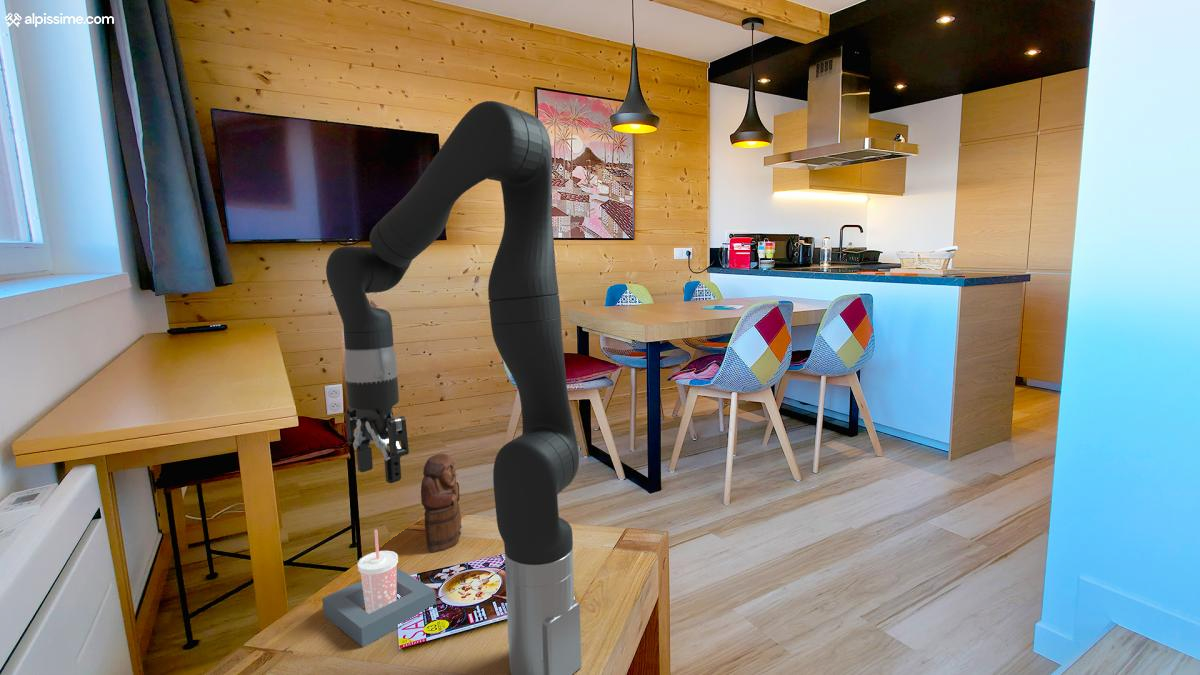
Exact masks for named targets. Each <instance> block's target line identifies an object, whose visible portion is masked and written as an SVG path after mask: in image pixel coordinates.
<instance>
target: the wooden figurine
mask: <svg viewBox="0 0 1200 675" xmlns="http://www.w3.org/2000/svg"><path fill="white" fill-rule="evenodd" d="M422 475H423V478H422V481H421V486H420V500H421V501H420V502H421V504H422V506H423V509H424V514H423V515H424V531H425V532H424V533H425V539H426V549H427V551H429V552H430V553H437V552H440V551H445V550H448V549H450V548H451V549H452V547H455V546H456V545H457V544H458V543H459V542H460V537H461V535H462V531H461V529H462V528H463V527H462V516H461V508H460V503H459V501H460V485H459V482H458V481H457V477H456V476H457V474H456V467H455V461H454V458H453V457H452V456H451V455H449V454H446V453H437V454H434V455H431V456H430V457H429V458H428V459H427V460H426V461H425V463H424V466H423V473H422Z"/></svg>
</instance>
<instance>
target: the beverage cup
mask: <svg viewBox="0 0 1200 675" xmlns="http://www.w3.org/2000/svg"><path fill="white" fill-rule="evenodd" d="M373 532H374V542H375V543H374V544H375V551H374V552H370V553H368V554H366V555H364V556H362V557H360V558H359V560H358V561H357V571H358V572H359V573H360V578H361V580H360V581H362V587H363V594H364V601H365V605H364V607H365V608H364V609H365V611H366V612H367V613H368V614H370V613H372V612H374V611H376V610H378V609H380V608H382V607H384V606H386V605H388V604H390V603H392V602H394V601H396V600H398V598H397V568H398V566H397V564H398V563H399V555H398V553H397V552H395V551H392V550H391V551H390V550H380V547H379V532H378V529H377V528H376V529H374V530H373Z"/></svg>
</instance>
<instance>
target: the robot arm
mask: <svg viewBox="0 0 1200 675" xmlns="http://www.w3.org/2000/svg"><path fill="white" fill-rule="evenodd" d="M551 144H552V143H551V139H550V135H549V133H548V130H547V128H546V126H545V125H544V124H543V122H542V120H540V119H539V118H538V117H536V116H535V115H533V114H531V113H529V112H526V111H524V110H521V109H519V108H516V107H514V106H511V105H508V104H506V103H502V102H499V101H495V100H494V101H493V100H486V101H482V102H479V103H477V104H475V105H474V106H473V107H472V108H470V109H469V110H468V111H467V112H466V113H465V115H463V116H462V118H461V119H460V120H459V122H458V123H457V125H455V127H454V128H453V130H452V131H451V133H450V134H449V136H448V137H447V139H446V140H445V141H444V143H443V144H442V146H441V148H440V149H439V150H438V152H437V153H436V155H435V156H434V157H433V158H432V160H431V162H430V163H429V164H428V166H427V167H426V168H425V170H424V172H423V173H422V174H421V176H420V177H419V179H418V181H416V183H415V184H414V186H412V188H411V189H410V190H409V191H408V192H407V194H406V195H405V196H404V197H403V198H402V199H401V200H400V201H399V202H398V203H397V204H396V205H395V206H394V207H392V208H391V210H389V211H388V212H387V213H386V214H385V215H384V216H383V217H382V218H381V219H380V220H379V221H378V222H376V224H375V225H374V226H373V228H372V229H371V231H370V233H369V244H370V246H350V245H349V246H344V245H343V246H340V247H337V248H335V249H334V250H333V251H332V252H331V253H330V255H329V256H328V259H327V262H326V268H325V274H326V279H327V283H328V285H329V286H328V287H329V289H330V291H331V294H332V296H333V299H334V302H335V305H336V307H337V310H338V313H339V316H340V318H341V321H342V322H341V323H342V325H343V339H344V374H345V375H344V376H345V387H346V388H345V389H346V400H347V401H346V402H347V406H348V408H346V410H345V416H346V419H345V420H346V436H347V437H346V438H347V442H348V444H349V445H352V446H353V450H356V460H357V471H358V472H360V473H365V472H369V471H371V470H372V469H373V467H374V465H373V452H372V451H373V450H372V447H371V445H372V442H374V445H375V448H377V449H379V450H380V451H381V453H382V455H383V458H384V460H383V462H384V474H385V482H386V483H387V484H395V483H397V482H400V481H401V479H402V468H401V458H402V457H403V456H407V455H409V452H410V451H409V450H410V449H409V448H410V447H409V440H408V431H407V430H408V429H407V421H406V420H407V419H406V418H405V416H403V415H402V416H399V417H398V416H397V417H394V413H393V408H394V406H396V405H397V404H398V403H399V401H400V394H399V382H398V381H399V379H398V365H397V357H396V353H395V346H394V333H393V332H394V331H393V330H394V329H393V322H392V320H393V319H392V316H391V313H390V312H389V311H388V310H386V309H384V308H379V307H373V306H372V305H371V302H370V301H369V299H368V296H367V294H369V293H370V294H373V293H383V292H386V291H389V290H391V289H393V288H394V287H396V286H397V285H398V284H399V283H400V282H401V280H402V279H403V277H405V273H407V271H408V269H409V268H410V265H411V264H412V262H413V260H414V259H415V258H417V257H418V256H419V255H421V253H423V252H424V251H425V250H426V249H428V248H429V246H431V245H432V244H433V243H434V242H435V241H436V240H437V239H438V238H439V237H440V236H441V234H442V233H443V230H445V228H446V226H447V223H448V221H449V218H450V213H451V211H452V209H453V207H454V206H455V203H456V202H457V201H458V199H459V198H461V196H463V194H465V193H466V192H467V191H468V190H470V189H471V188H473V187H475V186H476V185H478V184H479V183H481V182H483V181H485V180H489V181H490V180H491V181H497V182H500V186H501V191H502V200H503V202H502V203H503V213H504V225H503V231H502V237H501V241H500V244H499V246H498V249H497V252H496V254H495V258H494V259H493V264H492V267H491V270H490V274H489V279H488V285H487V288H488V290H487V292H488V295H487V297H488V305H489V306H488V307H489V315H490V326H491V332H492V337H493V340H494V344H495V346H496V348H497V351H498V352H499V354H500V358H502V360H503V363H504V364H505V365H506V368H507V369H508V371H509V372H510V374H511V376H512V379H513V382H515V385H516V388H517V391H518V394H519V399H520V408H521V420H522V421H521V422H522V432H521V435H519V436H517V437H515V438H514V439H512V440H511V441H509V442H507V443H505V444H504V445H503V446H502V447H500V449H499V451H498V452H497V453H496V457H495V459H494V464H493V468H492V469H493V470H492V471H493V472H492V473H493V474H492V476H493V478H492V479H493V480H492V481H493V494H494V504H495V505H494V507H495V513H496V514H495V516H496V524H497V525H496V526H497V529H498V532H499V535H500V537H501V539H502V541H503V545H504V546H503V547H504V564H505V565H504V568H505V569H504V570H505V571H504V572H505V592H506V614H507V616H506V618H507V619H506V620H507V638H508V640H507V642H508V659H509V660H508V663H509V664H508V665H509V673H510V675H573V674H575V673H576V672H577V671H579V669H581V668H582V637H581V636H582V635H581V633H582V632H581V629H582V628H581V605H580V602H578V601H576V600H575V586H574V584H575V583H574V580H575V579H574V545H573V544H574V542H573V540H574V539H573V529H572V526H571V524H570V523H569V522H568V521H567V520H565V519H564V518H562V517H560V516H559V514H560V513H559V505H558V504H559V502H558V500H559V499H558V495H559V494H560V493H561V492H562V491H563V490H564V489H566V488H568V486H569V485H570V484H571V483H572V482H573V480H574V479H575V477H576V475H577V472H578V470H579V466H580V455H579V453H580V452H579V445H578V440H577V439H578V438H577V435H576V434H577V433H576V431H575V430H576V429H575V424H574V420H573V415H572V410H571V405H570V398H569V395H568V394H569V393H568V387H567V386H568V385H567V377H566V376H567V374H566V364H565V354H564V343H563V342H564V341H563V332H562V314H561V304H560V295H559V294H560V293H559V292H560V291H559V285H558V278H557V277H558V276H557V269H556V268H557V267H556V253H555V242H554V230H553V213H552V211H553V210H552V208H553V207H552V202H553V201H552V198H553V197H552V193H553V189H552V188H553V185H552V184H553V153H552V152H553V151H552V145H551ZM399 442H400V443H399ZM388 447H389V448H388Z"/></svg>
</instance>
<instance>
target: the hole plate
mask: <svg viewBox="0 0 1200 675" xmlns="http://www.w3.org/2000/svg"><path fill="white" fill-rule="evenodd" d="M397 594H399V595H400V596H401V597H402V598H400V599H398V598H397V600H396V601H394V602H392V603H390V604H388V605H386V606H384V607H382V608H380V609H378V610H376V611H374V612H372V613H370V614H368V613H367V612H366V610H365V609H363V608H362V607H363V606H364V607H365V601H364V594H363V587H362V580H360V581H357V582H355V583H353V584H350V585H348V586H346V587H344V588H341V589H339V590H337V591H335V592H332V593H331V594H328V595H326V596H324V597H322V598H321V600H322V609H323V616H324V617H325V618H326V619H328V620H329V622H331V623H332V624H333V625H334V626H336V627H337V628H338V629H340V630H341V632H343V633H345V634H346V635H347V636H348V637H350V638H351V639H352V640H353V641H355V643H357V644H358V645H359V646H360V647H362V648H365V647H366V646H368V645H370V644H371V643H373V642H375V641H377V640H379V639H381V638H383V637H385V636H387V635H388V634H390V633H392V632H393V631H396V630H398V629H397V626H398V624H400V623H402V622H405V621H406V620H409V619H410V618H412V617H414V616H416V615H417V614H419V613H420V612H422V611H423V610H425V609H427V608H428V607H430V606H433V605H434V604H436V605H437V596H436V589H434V588H432V587H430V586H429V585H427V584H425V583H424V582H422V581H420V580H418V578H415V577H413V576H412V575H410V574H408V573H407V572H405V571H403V570H402V569H400V568H398V567H397Z"/></svg>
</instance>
